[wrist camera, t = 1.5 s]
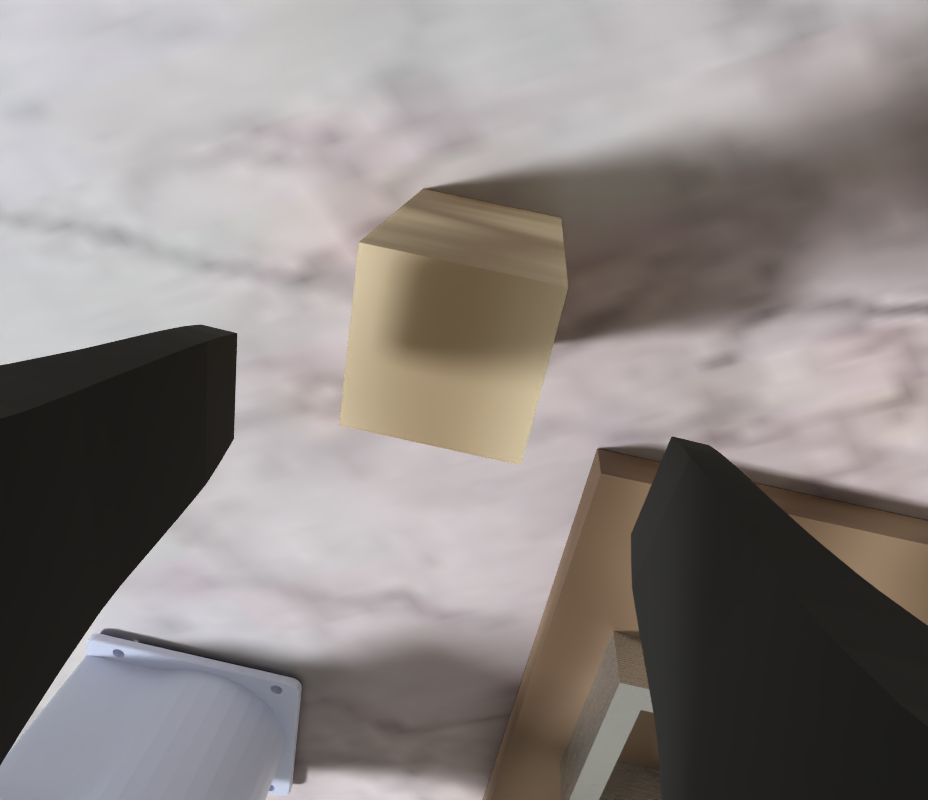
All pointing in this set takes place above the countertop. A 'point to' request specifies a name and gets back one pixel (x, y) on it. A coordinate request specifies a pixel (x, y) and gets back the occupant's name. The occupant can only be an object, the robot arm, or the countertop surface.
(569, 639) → the board
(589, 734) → the square socket
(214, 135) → the countertop surface
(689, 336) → the countertop surface
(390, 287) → the maple peg
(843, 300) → the countertop surface
